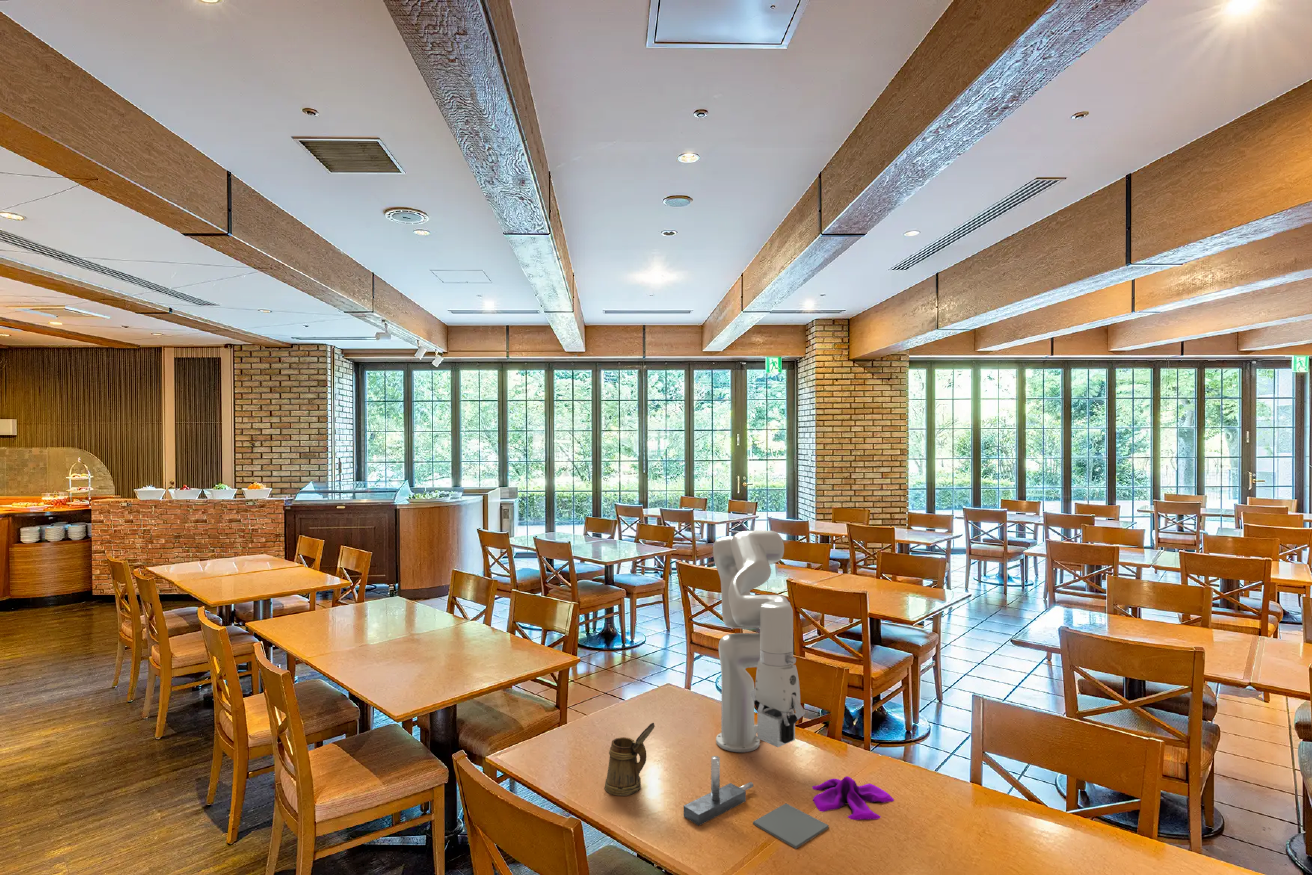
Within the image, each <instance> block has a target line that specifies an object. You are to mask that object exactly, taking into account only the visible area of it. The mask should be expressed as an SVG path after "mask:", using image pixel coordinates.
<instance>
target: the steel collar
mask: <svg viewBox="0 0 1312 875" xmlns="http://www.w3.org/2000/svg"><path fill="white" fill-rule="evenodd" d="M787 714H788V718H790V716H789V713H787ZM794 714H795V712H794ZM756 721H757V723H756V724H757V733H756V736H757V738H758V739H759V741H760V740H761V741H763V742H765V743H766V744H769V745H772V746H774V747H776V748H779V747H782V746H785V745H786V744H789V743H791V742H793V741H796V723H794V739H793V741H790V742H788V743H783V741H782V726H783V725H784V724H785V723H784V720H783V716H782V713H781V711H778V710H776V709H773V708H771V707H770V708H767V709H764V710H761V711H759V712H757V720H756Z"/></svg>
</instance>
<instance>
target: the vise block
mask: <svg viewBox="0 0 1312 875" xmlns="http://www.w3.org/2000/svg"><path fill="white" fill-rule="evenodd" d="M720 761H721V758H720V756H718V755H712V756H711V761H710V762H711V763H710V764H711V766H710V767H711V768H710V772H711V774H710V776H711V778H710V779H711V781H710V782H711V783H710V792H709V793H707V794H705V795H702V796H700V797H699V798H696V799H695V800H692V801H690V802H688V803H686V804H684V805H683V818H686V819H687V820H688V821H690V822H691V823H693V824H695V825H696V826H698V827H699V826H701V825H704V824H705V823H708V822H709V821H711V820H713V819H714V818H717V817H719V816H720V815H723V814H725V813H726V812H729V811H730V810H732V809H734V808H736V807H737V806H740V805H741V804H742V805H743V803H745V802H747V801H746V800H747V799H746V796H747V795H746V794H747V793H746V792H747V791H748V790H749V789H751V788H753V787H754V783H753V782H752V781H749V782H748V783H745V784H743V785H742V786H738V785H735V784H733V783H732V782H730V783H728V784H725V785H723V786H722V787H720V784H721V783H720V781H721V779H720V777H721V776H720V775H721V774H720V770H721V769H720V768H721V762H720Z"/></svg>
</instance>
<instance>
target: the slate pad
mask: <svg viewBox="0 0 1312 875" xmlns="http://www.w3.org/2000/svg"><path fill="white" fill-rule="evenodd" d="M752 825H754V826H755V827H757V828H759V829H760V830H763V831H764V832H765V833H767V834H769V835H771V836H772V837H775V838H776V839H778V840H779V841H781V842H783V843H785V844H787V845H788V846H790V847H792V848H793V849H796V850H797V849H799V847H802V846H803V845H805V844H806V843H807V842H810V840H812V839H814V838H815V837H818V835H820V834H822V833H823V832H824V831H826V830H828V829H829V828H830V827H829V826H830V825H829V824H827V823H825V822H823V821H822V820H819V819H818V818H816V817H814V816H811V815H810V814H808V813H806V812H804V811H802V810H800V809H798V808H796V807H794V806H792V805H790V804H788V803H783V804H782V805H780V806H778V807H776V808H774V809H773V810H772V811H770V812H768V813H765V814H764V815H762V816H761V817H759V818H757V819H755V820H754V821H752Z"/></svg>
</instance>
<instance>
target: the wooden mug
mask: <svg viewBox="0 0 1312 875" xmlns="http://www.w3.org/2000/svg"><path fill="white" fill-rule="evenodd" d="M655 727H656V726H655V723H654V722H652V723H650V724H649V725H648V726H647V727H646V728H645V729H644V730H643V731H642V732H641V733H640V734H639V736H638V737H637V738H636V740H635V739H633V738H630V737H625V736H624V737H617V738H614V739H613V740H612V741H611V745H610V747H609V750H608V754H609V759H608V768H607V774H606V779H605V784H604V790H605V791H606V793H608V794H610V795H613V796H621V797H625V796H631V795H633V794H635V793H637V792H638V791H639V790H640V789H641V787H642V780H641V779H642V778H641V776H640V773H641V771H642V770H643V768H644V766H645V765H646V762H647V750H646V746H645V745H644V742H645V740H646V739H647V738H648V737H649V736H650V735H651V733H652V731H653V730H654V729H655ZM637 756H639V761H638V757H637Z"/></svg>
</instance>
